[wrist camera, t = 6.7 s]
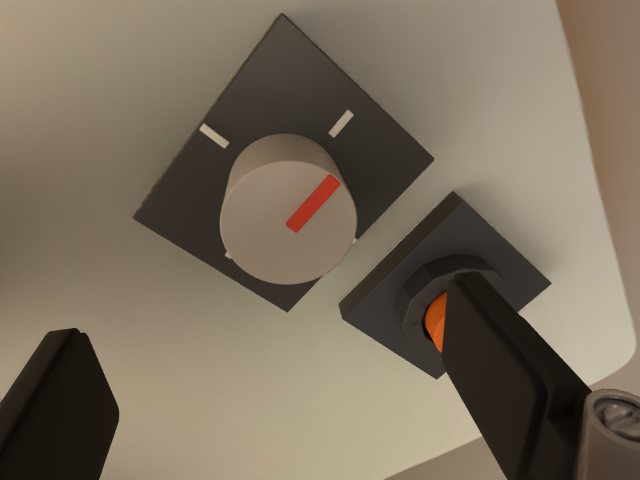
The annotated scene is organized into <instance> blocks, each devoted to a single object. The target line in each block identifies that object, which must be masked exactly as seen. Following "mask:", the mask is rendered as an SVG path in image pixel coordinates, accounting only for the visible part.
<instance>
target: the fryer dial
mask: <svg viewBox="0 0 640 480" xmlns="http://www.w3.org/2000/svg"><path fill="white" fill-rule="evenodd" d="M356 229H357V213H356V208H355V204H354V201H353V199H352V196H351V194H350V192H349V190H348V188H347V186H346V184H345V182H344V180H343V178H342V176H341V174H340V172H339V170H338V168H337V166H336V164H335V163H334V161H333V159H332V158H331V156H330V155H329V154H328V152H327V151H326V150H325V149H324V148H323V147H321V146H320V145H319V144H317V143H316V142H314V141H312V140H310V139H308V138H306V137H303V136H300V135H296V134H287V133H286V134H274V135H269V136H266V137H263V138H261V139H259V140H257V141H255V142H253V143H252V144H250V145H249V146H248V147H247V148H245V149H244V150H243V151H242V153H241V154H240V155H239V156H238V158H237V159H236V161H235V162H234V165H233V167H232V169H231V172H230V176H229V180H228V184H227V188H226V193H225V197H224V201H223V205H222V210H221V215H220V232H221V237H222V240H223V243H224V246H225V248H226V250H227V252H228V253H229V255H230V257H231V258H232V259H233V260H234V261H235V263H236V264H237V265H238V266H239V267H241V268H242V269H243V270H244V271H246V272H247V273H248V274H250V275H252V276H254V277H256V278H258V279H261V280H263V281H266V282H270V283H275V284H287V285H288V284H299V283H304V282H308V281H311V280H314V279H316V278H319V277H321V276H323V275H324V274H326V273H328V272H329V271H331V270H332V269H333V268H334V267H336V266H337V265H338V264H339V263H340V262H341V261H342V259H343V258H344V257H345V256H346V254H347V253H348V251H349V249H350V247H351V245H352V243H353V240H354V238H355V234H356Z"/></svg>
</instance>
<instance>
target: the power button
mask: <svg viewBox="0 0 640 480" xmlns="http://www.w3.org/2000/svg"><path fill="white" fill-rule="evenodd" d="M446 298H447V291H446V292H444V293H442V294H441V295H439V296H438V297H437V298H436V299H435V300H434V301H433V302H432V303H431V304H430V306H429V308H428V310H427V312H426V315H425V325H426V328H427V330H428V332H429V334H430V336H431V338H432V340H433V342H434V343H435V345H436V347H437V349H438V350H439V351H440V352H441V353H442V343H443V331H444V320H445V309H446Z"/></svg>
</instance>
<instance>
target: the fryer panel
mask: <svg viewBox="0 0 640 480" xmlns="http://www.w3.org/2000/svg"><path fill="white" fill-rule="evenodd" d="M286 133H287V134H296V135H300V136H303V137H306V138H308V139H310V140H312V141H314V142H316V143H317V144H319V145H320V146H321V147H323V148H324V149H325V150H326V151H327V152H328V154H329V155H330V156H331V158H332V159H333V161H334V163H335V164H336V166H337V168H338V170H339V172H340V174H341V176H342V178H343V180H344V182H345V184H346V186H347V188H348V190H349V192H350V194H351V196H352V199H353V201H354V204H355V208H356V213H357V229H356V234H355V238H354V240H353V243H352V245H353V244H354V243H355V242H356V241H357V240H358V239H359V238H360V237H361V236H362V235H363V234H364V232H365V231H366V230H367V229H368V228H369V227H370V226H371V225H372V224H373V223H374V222H375V221H376V220H377V219H378V218H379V217H380V216H381V215H382V214H383V213H384V212H385V211H386V210H387V209H388V207H389V206H390V205H391V204H392V203H393V202H394V201H395V200H396V199H397V198H398V197H399V196H400V195H401V194H402V193H403V192H404V191H405V190H406V189H407V188H408V187H409V186H410V185H411V184H412V183H413V181H414V180H415V179H416V178H417V177H418V176H419V175H420V174H421V173H422V172H423V171H424V170H425V169H426V168H427V167H428V166H429V165H430V164H431V163H432V162H433V161H434V157H433V156H431V155H430V154H429V153H428V152H427V151H426V150H425V149H424V148H423V147H422V146H421V145H420V144H419V143H418V142H417V141H416V140H415V139H414V138H413V137H412V136H411V135H410V134H409V133H407V132H406V131H405V130H404V129H403V128H402V127H401V126H400V125H399V124H398V123H397V122H396V121H395V120H394V119H393V118H392V117H391V116H390V115H389V114H388V113H387V112H386V111H384V110H383V109H382V108H381V107H380V106H379V105H378V104H377V103H376V102H375V101H374V100H373V99H372V98H371V97H370V96H369V95H368V94H367V93H366V92H365V91H364V90H363V89H362V88H360V87H359V86H358V85H357V84H356V83H355V82H354V81H353V80H352V79H351V78H350V77H349V76H348V75H347V74H346V73H345V72H344V71H343V70H342V69H341V68H340V67H339V66H338V65H336V64H335V63H334V62H333V61H332V60H331V59H330V58H329V57H328V56H327V55H326V54H325V53H324V52H323V51H322V50H321V49H320V48H319V47H318V46H317V45H316V44H315V43H314V42H312V41H311V40H310V39H309V38H308V37H307V36H306V35H305V34H304V33H303V32H302V31H301V30H300V29H299V28H298V27H297V26H296V25H295V24H294V23H293V22H292V21H291V20H289V19H288V18H287V17H286V16H285V15H284V14H283V13H281V14H280V15H278V16H277V18H276V19H275V20H274V22H273V23H272V25H271V26H270V27H269V29H268V30H267V31H266V33H265V34H264V36H263V37H262V38H261V40H260V41H259V42H258V44H257V45H256V47H255V48H254V49H253V51H252V52H251V53H250V55H249V56H248V58H247V59H246V60H245V62H244V63H243V64H242V66H241V67H240V68H239V70H238V71H237V73H236V74H235V75H234V77H233V78H232V79H231V81H230V82H229V84H228V85H227V86H226V88H225V89H224V90H223V92H222V93H221V95H220V96H219V97H218V99H217V100H216V101H215V103H214V104H213V106H212V107H211V108H210V110H209V111H208V112H207V114H206V115H205V117H204V118H203V119H202V121H201V122H200V123H199V125H198V126H197V128H196V129H195V130H194V132H193V133H192V134H191V136H190V137H189V139H188V140H187V141H186V143H185V144H184V145H183V147H182V148H181V150H180V151H179V152H178V154H177V155H176V156H175V158H174V159H173V161H172V162H171V163H170V165H169V166H168V167H167V169H166V170H165V172H164V173H163V174H162V176H161V177H160V178H159V180H158V181H157V183H156V184H155V185H154V187H153V188H152V189H151V191H150V192H149V194H148V195H147V197H146V198H145V200H144V201H143V202H142V204H141V205H140V207H139V208H138V210H137V211H136V213H135V214H134V216H133V219H134V220H136V221H138V222H139V223H141V224H143V225H144V226H146V227H147V228H149V229H151V230H152V231H154V232H156V233H157V234H159V235H161V236H162V237H164V238H166V239H167V240H169V241H170V242H172V243H174V244H175V245H177V246H179V247H180V248H182V249H184V250H185V251H187V252H189V253H190V254H192V255H193V256H195V257H197V258H198V259H200V260H202V261H203V262H205V263H207V264H208V265H210V266H211V267H213V268H215V269H216V270H218V271H220V272H221V273H223V274H225V275H226V276H228V277H230V278H231V279H233V280H234V281H236V282H238V283H239V284H241V285H243V286H244V287H246V288H248V289H249V290H251V291H253V292H254V293H256V294H257V295H259V296H261V297H262V298H264V299H266V300H267V301H269V302H271V303H272V304H274V305H276V306H277V307H279V308H280V309H282V310H284V311H285V312H289V310H290V309H291V308H292V307H293V306H294V305H295V304H296V303H297V302H298V301H299V300H300V299H301V298H302V297H303V296H304V295H305V294H306V293H307V292H308V291H309V290H310V289H311V288H312V287H313V286H314V284H315V283H316V282H317V281H318V280H319V279H320V278H321V277H322V276H321V277H319V278H316V279H314V280H311V281H308V282H304V283H299V284H288V285H287V284H275V283H270V282H266V281H263V280H261V279H258V278H256V277H254V276H252V275H250V274H248V273H247V272H246V271H244V270H243V269H242V268H241V267H239V266H238V265H237V264H236V263H235V261H234V260H233V259H232V258H231V257H230V255H229V253H228V252H227V250H226V248H225V246H224V243H223V240H222V237H221V232H220V215H221V210H222V205H223V201H224V197H225V193H226V188H227V184H228V180H229V176H230V172H231V169H232V167H233V165H234V162H235V161H236V159H237V158H238V156H239V155H240V154H241V153H242V151H243V150H244V149H245V148H247V147H248V146H249V145H250V144H252V143H253V142H255V141H257V140H259V139H261V138H263V137H266V136H269V135H274V134H286ZM352 245H351V246H352Z"/></svg>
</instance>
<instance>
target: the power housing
mask: <svg viewBox="0 0 640 480" xmlns="http://www.w3.org/2000/svg"><path fill="white" fill-rule="evenodd" d="M470 271H479V272H480V273H481V274H482V275H483V276H484V277H485V278H486V280H487V281H488V282H489V283H490V284H491V285H492V286H493V287H494V288H495V289H496V290H497V291H498V292H499V294H500V295H501V296H502V297H503V298H504V299H505V300H506V301H507V302H508V303H509V304H510V305H511V306H512V308H513V309H514V310H515V311H516V312H518V311H520V310H521V309H522V308H523V307H524V306H526V305H527V304H528V303H529V302H530V301H532V300H533V299H534V298H535V297H536V296H538V295H539V294H540V293H541V292H542V291H544V290H545V289H546V288H547V287H548V286H550V285H551V284H552V283H551V282H550V281H549V280H548V279H547V278H546V277H545V276H544V275H543V274H541V273H540V272H539V271H538V270H537V269H536V268H535V267H534V266H533V265H532V264H531V263H530V262H529V261H528V260H527V259H525V258H524V257H523V256H522V255H521V254H520V253H519V252H518V251H517V250H516V249H515V248H514V247H513V246H512V245H511V244H509V243H508V242H507V241H506V240H505V239H504V238H503V237H502V236H501V235H500V234H499V233H498V232H497V231H496V230H494V229H493V228H492V227H491V226H490V225H489V224H488V223H487V222H486V221H485V220H484V219H483V218H482V217H481V216H480V215H478V214H477V213H476V212H475V211H474V210H473V209H472V208H471V207H470V206H469V205H468V204H467V203H466V202H465V201H464V200H462V199H461V198H460V197H459V196H458V195H457V194H456V193H454V192H453V191H452V192H451V193H450V194H449V195H448V196H447V197H446V198H445V199H444V200H443V201H442V202H441V203H440V204H439V205H438V206H437V207H436V208H435V209H434V210H433V211H432V212H431V213H430V214H429V215H428V216H427V217H426V218H425V219H424V220H423V221H422V222H421V223H420V224H419V225H418V226H417V227H416V228H415V229H414V230H413V231H412V232H411V233H410V234H409V235H408V236H407V237H406V238H405V239H404V240H403V241H402V242H401V243H400V244H399V245H398V246H397V247H396V248H395V249H394V250H393V251H392V252H391V253H390V254H389V255H388V256H387V257H386V258H385V259H384V260H383V261H382V262H381V263H380V264H379V265H378V266H377V267H376V268H375V269H374V270H373V271H372V272H371V273H370V274H369V275H368V276H367V277H366V278H365V279H364V280H363V281H362V282H361V283H360V284H359V285H358V286H357V287H356V288H355V289H354V290H353V291H352V292H351V293H350V294H349V295H348V296H347V297H346V298H345V299H344V300H343V301H342V302H341V303H340V304H339V308H340V311H341V315H342V319H343V320H345V321H346V322H348V323H349V324H351V325H353V326H354V327H356V328H357V329H359V330H360V331H362V332H363V333H365V334H367V335H368V336H370V337H371V338H373V339H374V340H376V341H377V342H379V343H381V344H382V345H384V346H385V347H387V348H388V349H390V350H391V351H393V352H395V353H396V354H398V355H399V356H401V357H402V358H404V359H405V360H407V361H409V362H410V363H412V364H413V365H415V366H416V367H418V368H419V369H421V370H423V371H424V372H426V373H427V374H429V375H430V376H432V377H433V378H435V379H438V378H439V377H441V376H442V375H443V374H444V373H445V372H446V370H445V368H444V366H443V363H442V357H441V354H442V353H441V352H440V351H439V350H438V349H437V347H436V345H435V343H434V342H433V340H432V338H431V336H430V334H429V332H428V330H427V328H426V325H425V315H426V312H427V310H428V308H429V306H430V304H431V303H432V302H433V301H434V300H435V299H436V298H437V297H438V296H439V295H441V294H442V293H444V292H446V291H447V287H448V282H449V280H452V279H453V278H454V276H455V274H457V273H463V272H470Z"/></svg>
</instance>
